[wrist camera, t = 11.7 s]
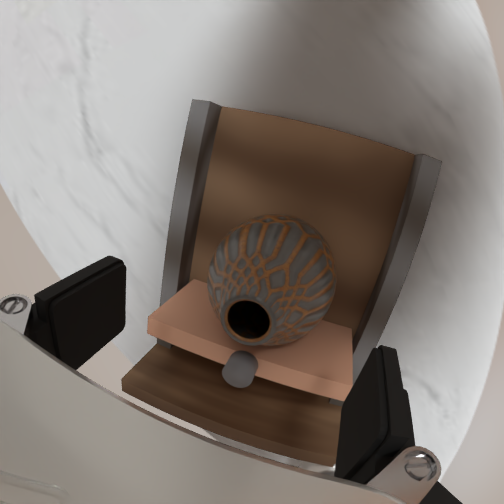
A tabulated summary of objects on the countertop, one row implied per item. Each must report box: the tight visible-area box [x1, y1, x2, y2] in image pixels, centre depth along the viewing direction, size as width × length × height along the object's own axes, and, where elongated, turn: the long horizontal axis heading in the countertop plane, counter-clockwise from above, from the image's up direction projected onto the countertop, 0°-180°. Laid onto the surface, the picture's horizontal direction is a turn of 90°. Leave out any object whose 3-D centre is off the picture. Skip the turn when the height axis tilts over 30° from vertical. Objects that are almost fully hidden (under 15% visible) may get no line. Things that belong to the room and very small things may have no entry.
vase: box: [207, 214, 336, 346], centre depth 17 cm, size 7×7×9 cm
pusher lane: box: [122, 99, 442, 467], centre depth 18 cm, size 19×15×8 cm
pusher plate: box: [147, 279, 353, 401], centre depth 18 cm, size 2×12×8 cm, turn 77°
